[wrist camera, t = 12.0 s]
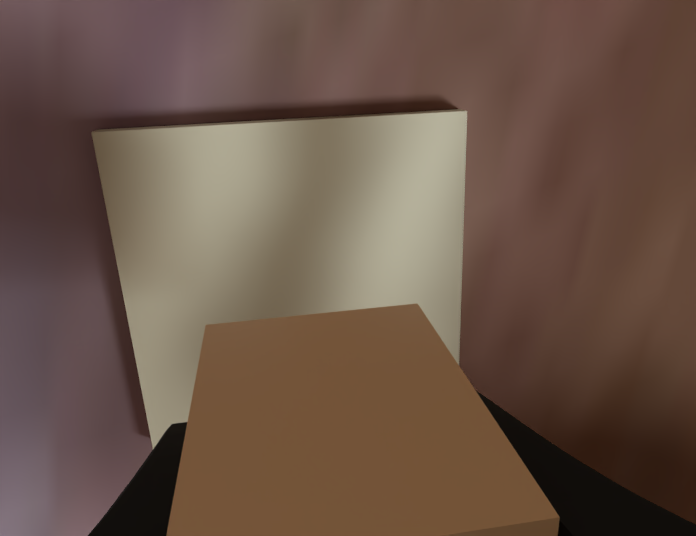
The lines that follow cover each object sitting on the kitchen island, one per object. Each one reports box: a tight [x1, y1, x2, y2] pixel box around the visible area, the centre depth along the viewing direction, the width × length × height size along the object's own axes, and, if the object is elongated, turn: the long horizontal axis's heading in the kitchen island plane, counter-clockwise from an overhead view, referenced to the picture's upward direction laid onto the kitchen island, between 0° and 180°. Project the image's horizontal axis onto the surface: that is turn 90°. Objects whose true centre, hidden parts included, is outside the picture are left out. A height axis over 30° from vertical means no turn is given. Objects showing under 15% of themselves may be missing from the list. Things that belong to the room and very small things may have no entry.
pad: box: [91, 109, 467, 449], centre depth 17 cm, size 10×10×1 cm
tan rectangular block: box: [166, 303, 560, 536], centre depth 9 cm, size 4×4×6 cm
